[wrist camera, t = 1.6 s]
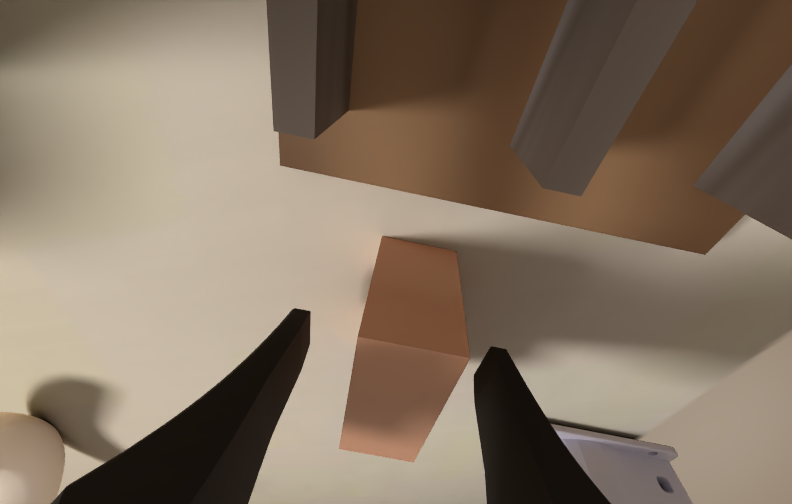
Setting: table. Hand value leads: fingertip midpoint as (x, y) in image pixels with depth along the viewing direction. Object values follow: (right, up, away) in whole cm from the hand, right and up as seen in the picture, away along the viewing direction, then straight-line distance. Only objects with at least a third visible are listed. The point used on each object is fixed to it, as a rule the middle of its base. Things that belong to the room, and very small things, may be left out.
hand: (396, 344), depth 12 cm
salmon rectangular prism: (0, +1, +2) cm, 2 cm away
